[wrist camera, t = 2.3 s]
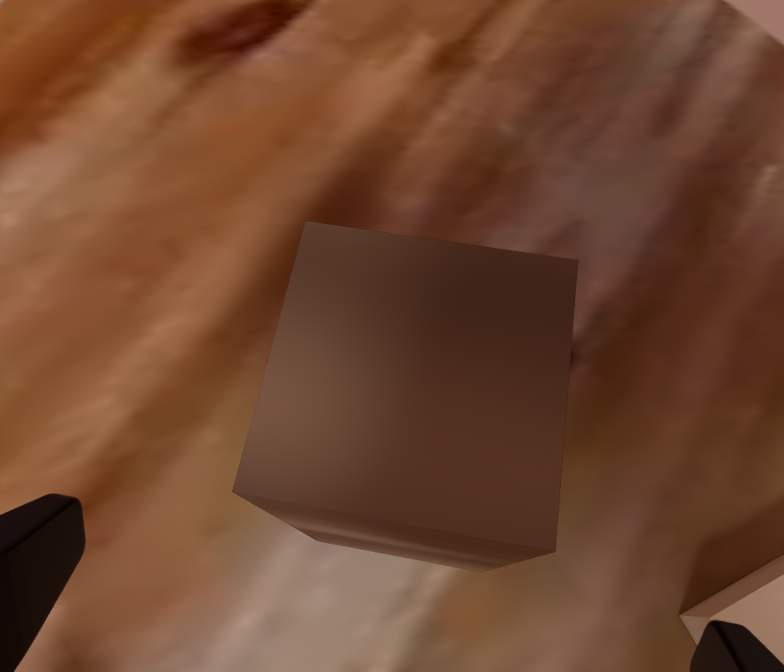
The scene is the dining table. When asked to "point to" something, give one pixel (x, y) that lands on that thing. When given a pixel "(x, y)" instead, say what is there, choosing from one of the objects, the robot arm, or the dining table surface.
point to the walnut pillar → (416, 398)
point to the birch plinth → (747, 607)
